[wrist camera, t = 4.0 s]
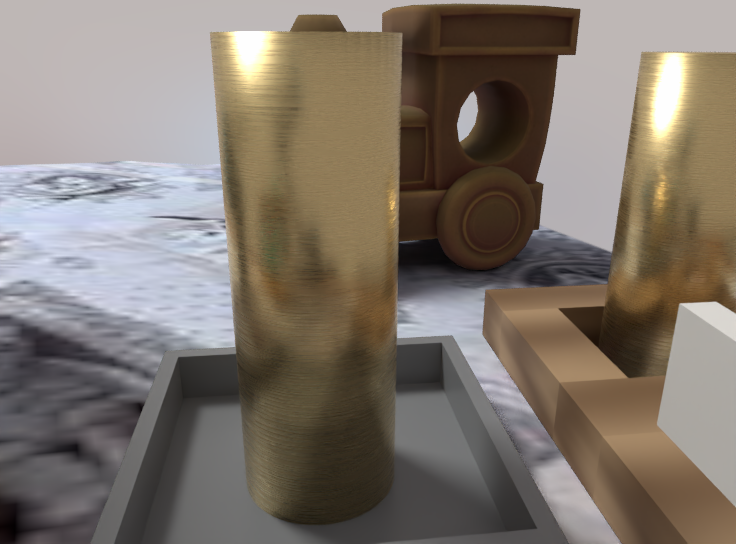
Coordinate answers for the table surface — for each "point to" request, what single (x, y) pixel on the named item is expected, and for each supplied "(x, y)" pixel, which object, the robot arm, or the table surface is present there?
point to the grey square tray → (340, 540)
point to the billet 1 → (313, 262)
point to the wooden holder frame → (603, 417)
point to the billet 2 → (673, 207)
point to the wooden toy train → (493, 123)
